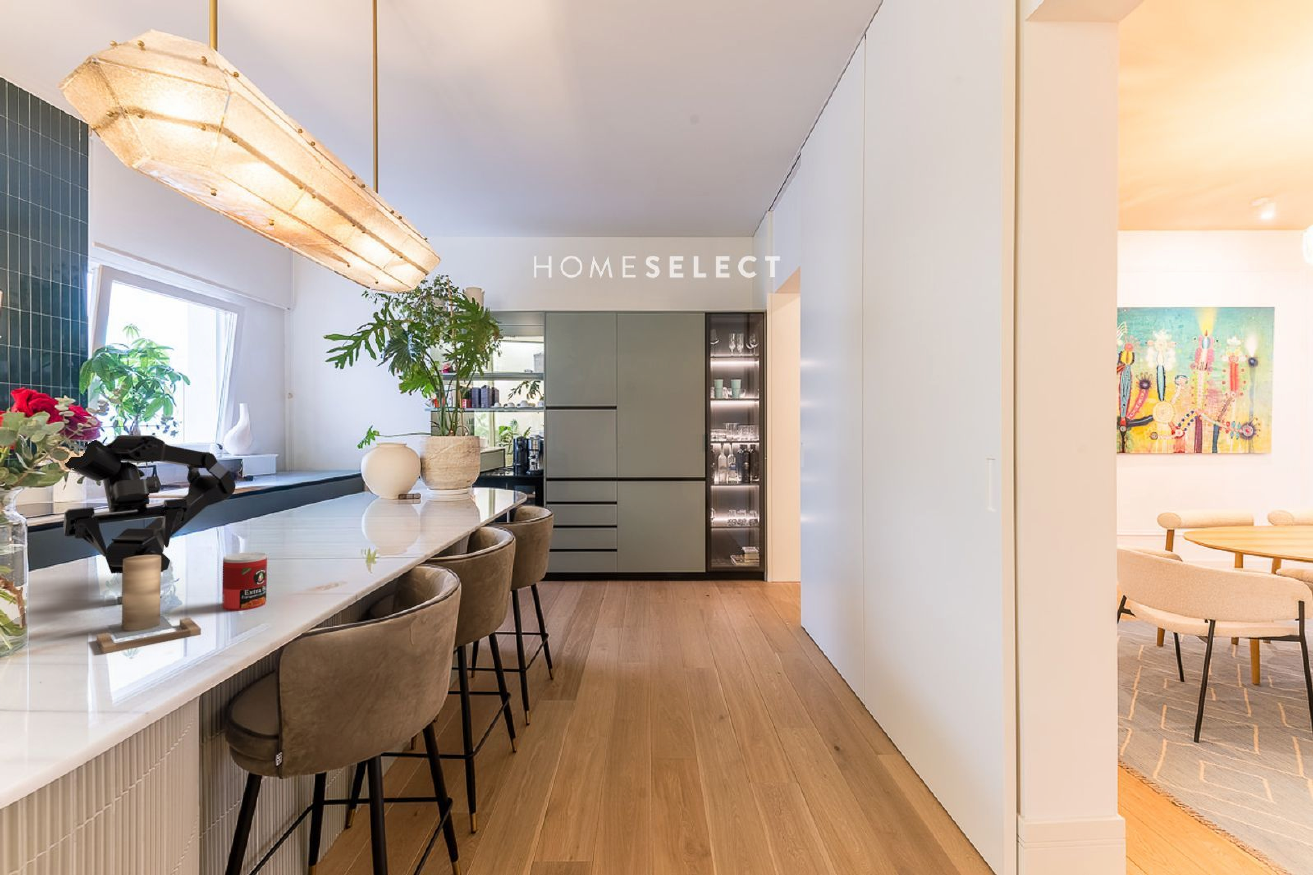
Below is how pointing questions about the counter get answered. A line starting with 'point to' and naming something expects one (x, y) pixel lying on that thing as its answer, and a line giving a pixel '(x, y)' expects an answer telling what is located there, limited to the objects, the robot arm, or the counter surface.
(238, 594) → the canned food
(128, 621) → the pepper mill
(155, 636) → the walnut frame
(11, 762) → the counter surface
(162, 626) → the slate mat
